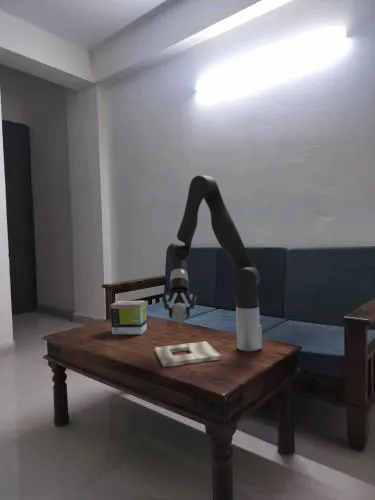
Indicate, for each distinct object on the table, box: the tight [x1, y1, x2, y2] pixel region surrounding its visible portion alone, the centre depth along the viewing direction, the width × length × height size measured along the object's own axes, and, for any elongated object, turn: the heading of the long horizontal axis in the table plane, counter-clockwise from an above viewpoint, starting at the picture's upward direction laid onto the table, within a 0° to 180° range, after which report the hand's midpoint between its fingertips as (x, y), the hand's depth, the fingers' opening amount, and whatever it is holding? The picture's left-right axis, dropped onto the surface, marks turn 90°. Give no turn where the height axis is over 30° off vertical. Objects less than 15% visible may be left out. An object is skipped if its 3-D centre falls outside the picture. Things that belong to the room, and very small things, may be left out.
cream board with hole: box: [154, 341, 222, 368], centre depth 141 cm, size 22×18×2 cm
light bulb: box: [172, 303, 186, 329], centre depth 140 cm, size 5×6×10 cm
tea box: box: [109, 300, 148, 335], centre depth 175 cm, size 15×10×15 cm, turn 80°
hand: (179, 317), depth 138 cm, fingers closed on light bulb, 5 cm apart
